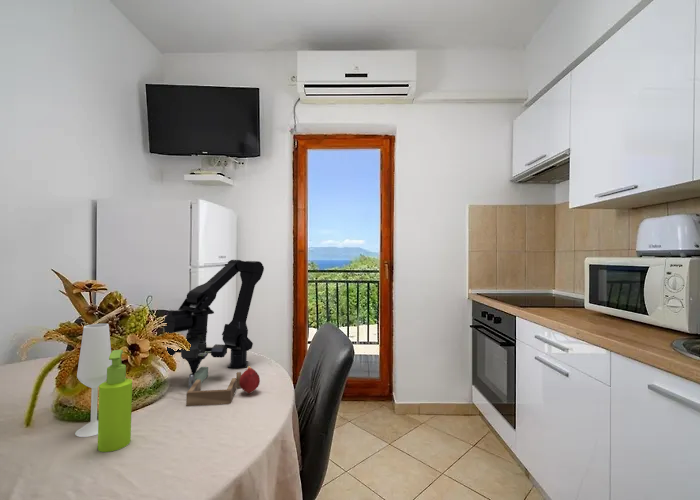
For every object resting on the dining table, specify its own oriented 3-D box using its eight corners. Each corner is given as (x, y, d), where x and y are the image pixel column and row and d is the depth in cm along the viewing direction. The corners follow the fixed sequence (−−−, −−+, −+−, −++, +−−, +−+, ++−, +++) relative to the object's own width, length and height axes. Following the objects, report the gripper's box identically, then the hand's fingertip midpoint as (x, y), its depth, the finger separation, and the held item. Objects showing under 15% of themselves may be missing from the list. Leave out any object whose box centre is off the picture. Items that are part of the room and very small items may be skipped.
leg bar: (200, 376, 117) (201, 366, 117) (207, 375, 117) (208, 366, 117) (189, 387, 106) (189, 377, 106) (197, 387, 106) (197, 377, 106)
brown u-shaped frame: (198, 388, 106) (198, 373, 106) (241, 386, 108) (241, 372, 108) (186, 406, 93) (186, 389, 94) (234, 403, 96) (235, 387, 96)
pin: (189, 388, 105) (189, 373, 105) (194, 388, 106) (195, 373, 106) (187, 390, 104) (188, 375, 104) (193, 390, 104) (193, 375, 104)
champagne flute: (104, 419, 85) (107, 321, 85) (116, 428, 81) (118, 325, 82) (70, 430, 80) (73, 326, 80) (81, 440, 76) (84, 330, 76)
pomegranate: (262, 390, 105) (262, 363, 105) (255, 397, 100) (255, 370, 100) (243, 389, 106) (244, 362, 106) (235, 396, 100) (236, 368, 100)
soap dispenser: (94, 457, 69) (96, 357, 70) (100, 441, 76) (102, 348, 76) (128, 450, 72) (131, 353, 72) (131, 434, 78) (134, 346, 79)
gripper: (157, 333, 104) (152, 385, 103) (221, 335, 106) (217, 386, 106) (170, 325, 115) (166, 372, 114) (229, 327, 117) (225, 374, 117)
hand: (193, 376), depth 113 cm, fingers closed
